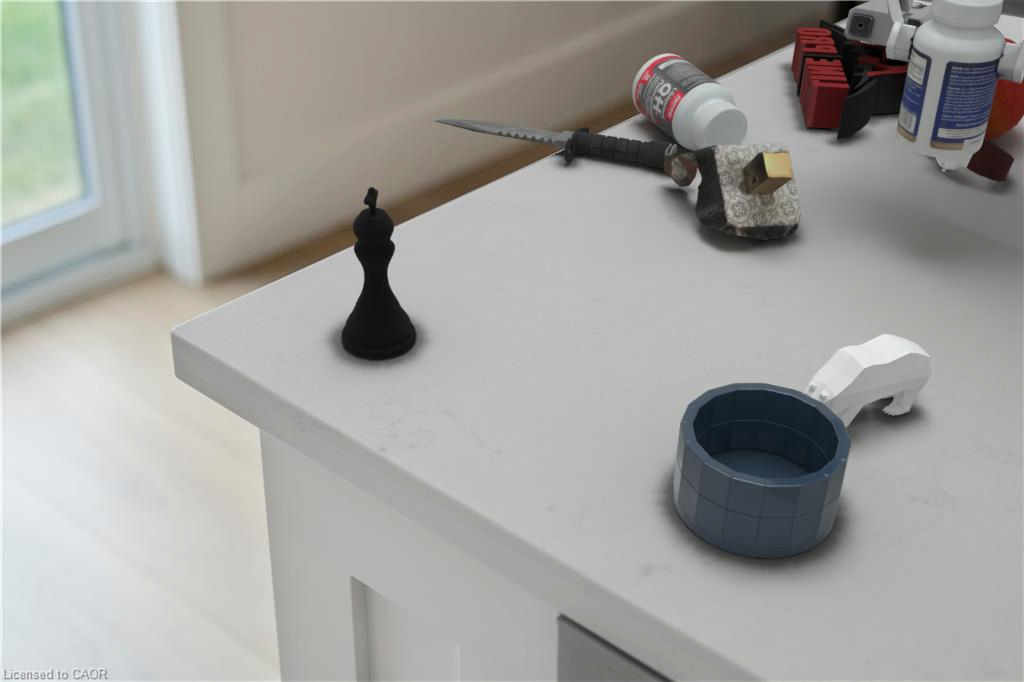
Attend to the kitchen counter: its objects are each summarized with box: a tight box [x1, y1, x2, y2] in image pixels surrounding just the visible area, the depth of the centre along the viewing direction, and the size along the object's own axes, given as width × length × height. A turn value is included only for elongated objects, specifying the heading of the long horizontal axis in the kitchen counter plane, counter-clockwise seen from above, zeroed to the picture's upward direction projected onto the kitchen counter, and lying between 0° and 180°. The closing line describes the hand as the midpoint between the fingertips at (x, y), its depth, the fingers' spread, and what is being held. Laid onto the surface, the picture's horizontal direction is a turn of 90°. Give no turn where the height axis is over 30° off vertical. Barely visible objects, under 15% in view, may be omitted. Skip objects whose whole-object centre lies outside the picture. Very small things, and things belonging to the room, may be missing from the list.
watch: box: [935, 138, 1015, 183], centre depth 94 cm, size 8×5×4 cm
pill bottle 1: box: [631, 53, 749, 151], centre depth 96 cm, size 5×5×10 cm
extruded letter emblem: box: [790, 18, 909, 141], centre depth 104 cm, size 18×4×11 cm
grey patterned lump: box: [663, 142, 802, 241], centre depth 86 cm, size 8×7×12 cm
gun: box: [844, 0, 933, 46], centre depth 109 cm, size 2×25×10 cm
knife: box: [434, 118, 678, 169], centre depth 95 cm, size 19×2×5 cm
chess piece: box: [340, 186, 417, 360], centre depth 71 cm, size 4×4×10 cm
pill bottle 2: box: [896, 0, 1005, 159], centre depth 78 cm, size 5×5×10 cm
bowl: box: [672, 382, 852, 559], centre depth 61 cm, size 8×8×4 cm
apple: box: [984, 37, 1024, 140], centre depth 98 cm, size 8×8×8 cm
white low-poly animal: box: [804, 333, 932, 428], centre depth 67 cm, size 2×8×5 cm, turn 119°
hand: (952, 66), depth 77 cm, fingers closed on pill bottle 2, 5 cm apart
